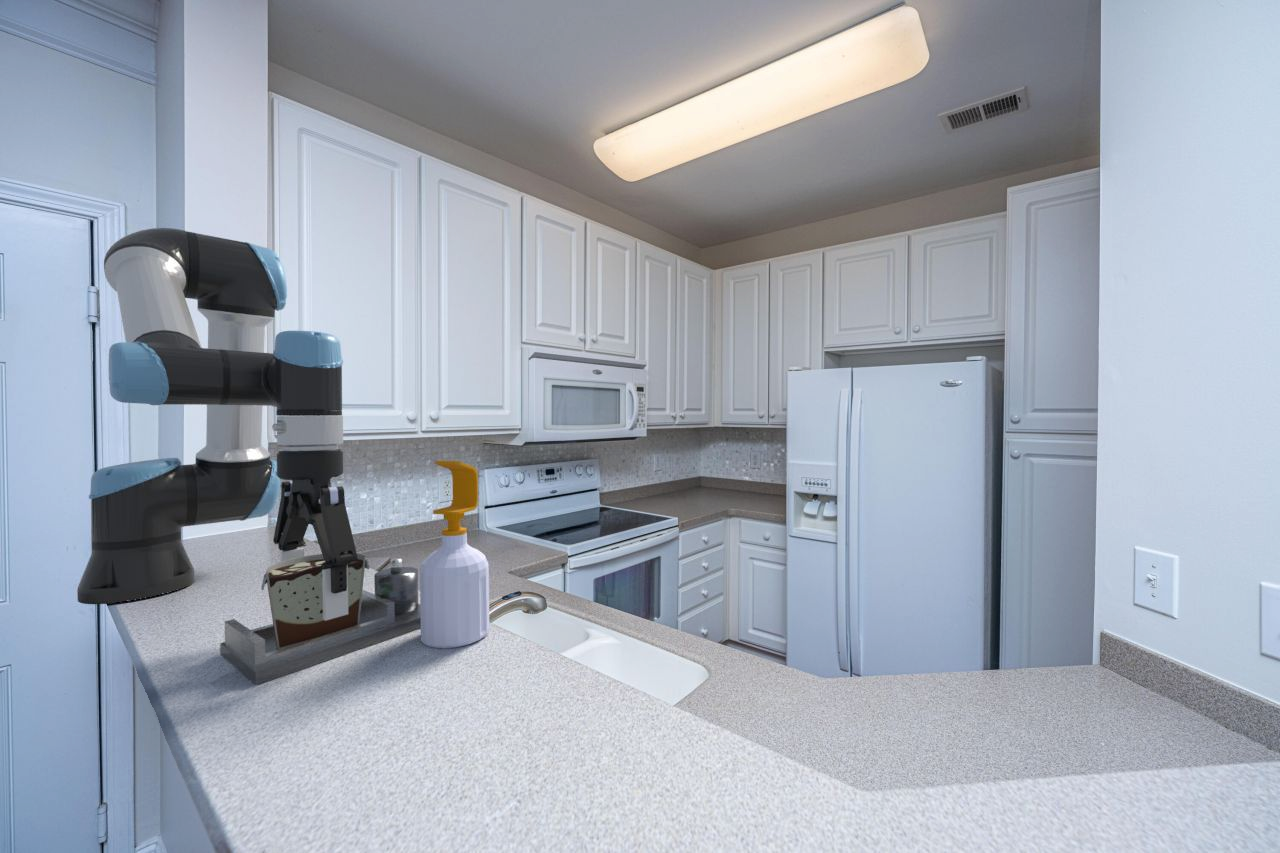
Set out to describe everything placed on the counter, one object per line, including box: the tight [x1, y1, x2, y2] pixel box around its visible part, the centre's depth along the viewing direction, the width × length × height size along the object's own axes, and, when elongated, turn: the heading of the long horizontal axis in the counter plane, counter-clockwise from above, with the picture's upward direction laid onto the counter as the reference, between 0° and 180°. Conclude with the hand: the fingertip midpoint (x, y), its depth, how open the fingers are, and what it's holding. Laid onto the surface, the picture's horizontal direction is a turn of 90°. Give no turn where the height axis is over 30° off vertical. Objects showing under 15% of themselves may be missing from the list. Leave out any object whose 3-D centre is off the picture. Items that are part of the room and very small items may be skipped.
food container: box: [260, 552, 370, 650], centre depth 70 cm, size 12×6×10 cm, turn 136°
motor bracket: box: [219, 557, 421, 686], centre depth 72 cm, size 13×23×9 cm, turn 143°
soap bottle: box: [419, 460, 491, 649], centre depth 72 cm, size 9×9×25 cm
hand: (313, 605), depth 70 cm, fingers open, 13 cm apart
